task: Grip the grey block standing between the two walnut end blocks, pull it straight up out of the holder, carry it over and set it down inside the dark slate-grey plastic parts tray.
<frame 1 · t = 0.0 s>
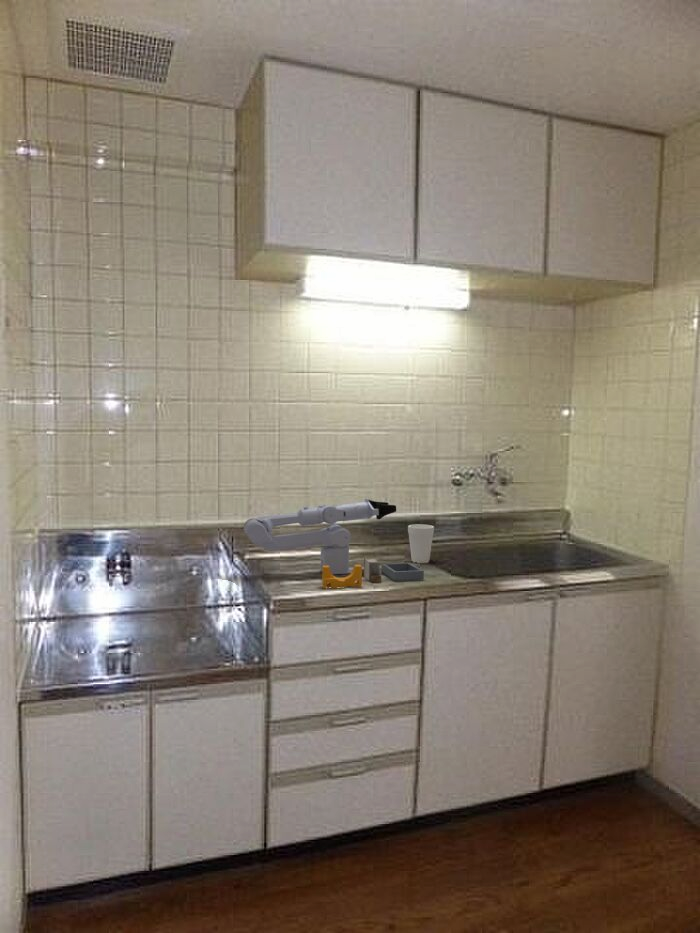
hand: (392, 507, 228), 22 cm above the table, tool horizontal, fingers open, 7 cm apart
grey block: (371, 578, 214), on the table
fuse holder: (371, 578, 214), on the table
pipe clamp: (342, 587, 204), on the table
foam cup: (420, 561, 243), on the table
parts tray: (402, 576, 218), on the table
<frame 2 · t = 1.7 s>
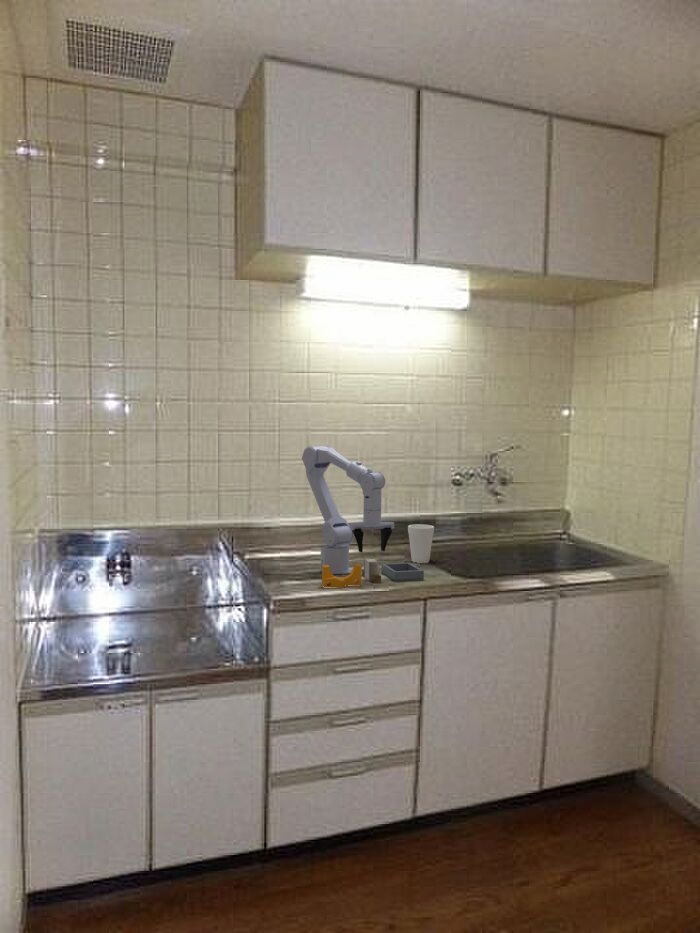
hand: (371, 551, 214), 9 cm above the table, tool pointing down, fingers open, 7 cm apart
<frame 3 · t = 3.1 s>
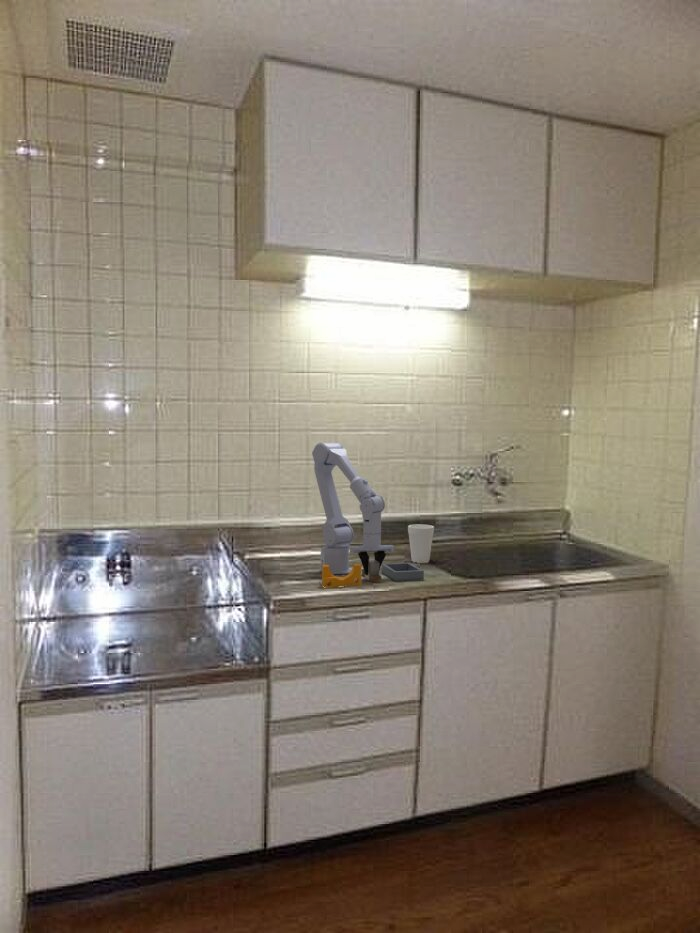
hand: (371, 574, 214), 1 cm above the table, tool pointing down, fingers closed on grey block, 3 cm apart
grey block: (371, 578, 214), on the table, touching gripper
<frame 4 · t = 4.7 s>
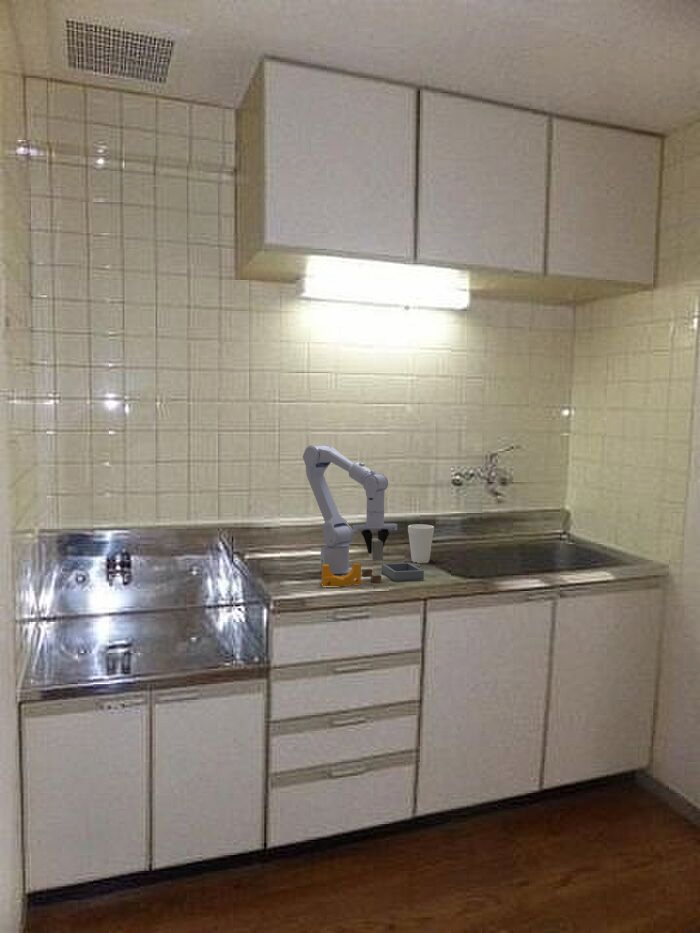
hand: (374, 552, 214), 8 cm above the table, tool pointing down, fingers closed on grey block, 3 cm apart
grey block: (375, 558, 214), point 7 cm above the table, touching gripper
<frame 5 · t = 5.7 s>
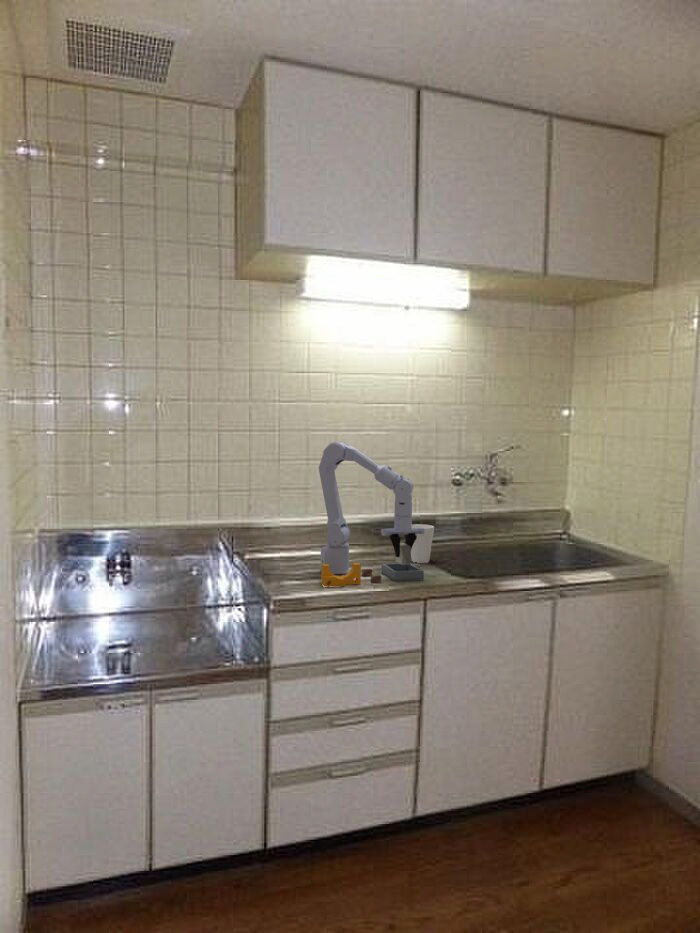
hand: (402, 556, 218), 7 cm above the table, tool pointing down, fingers closed on grey block, 3 cm apart
grey block: (402, 562, 218), point 5 cm above the table, touching gripper
when the fingers open (3 cm above the table, at t = 6.6 s): grey block stays where it is, resting on parts tray.
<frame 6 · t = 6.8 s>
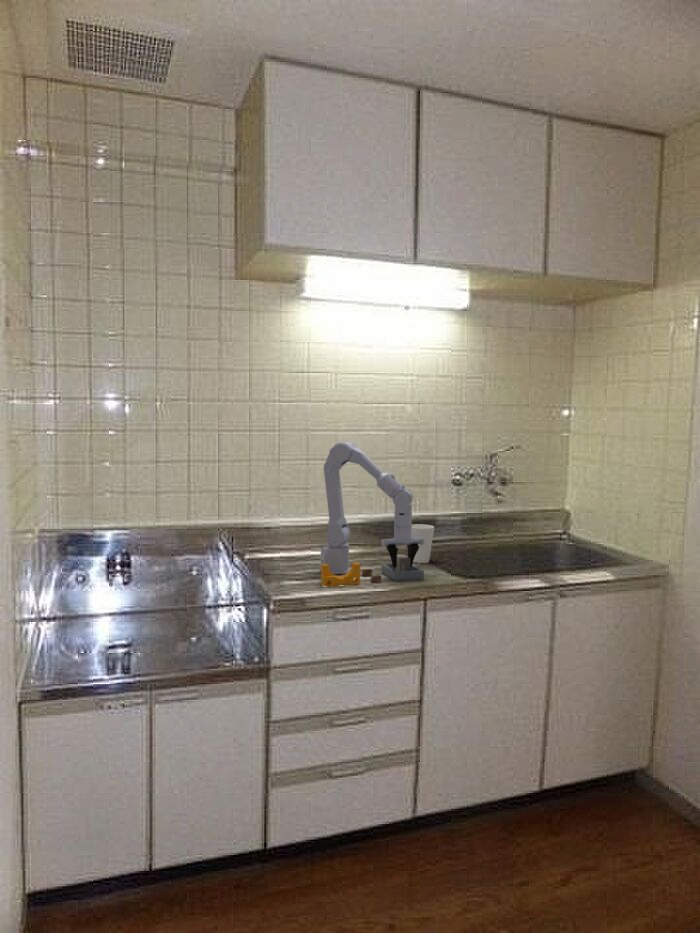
hand: (402, 566, 218), 3 cm above the table, tool pointing down, fingers open, 5 cm apart
grey block: (402, 574, 218), point 1 cm above the table, touching parts tray
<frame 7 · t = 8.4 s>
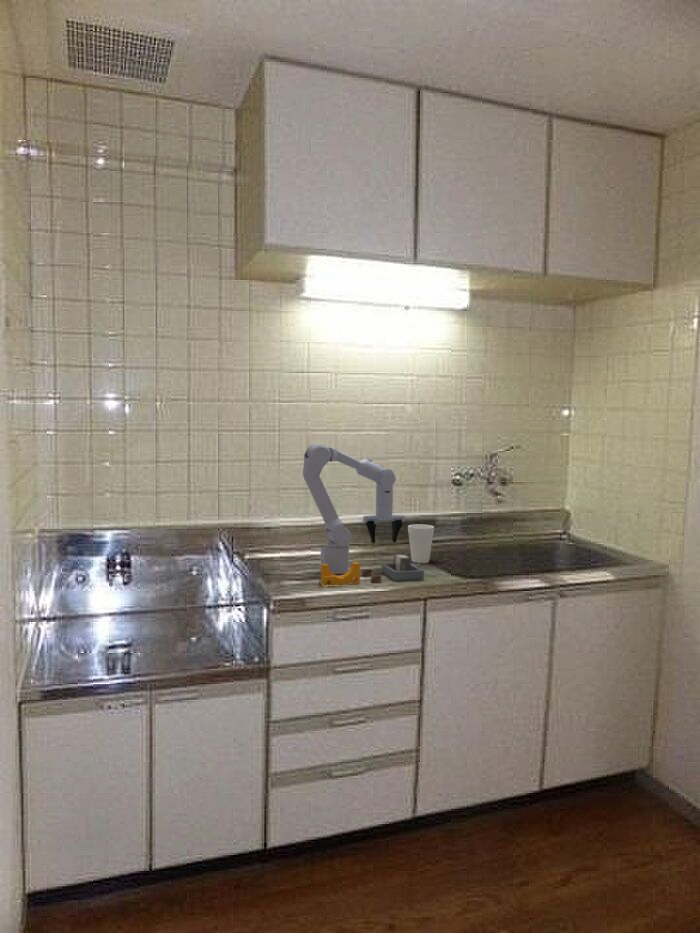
hand: (383, 542, 228), 9 cm above the table, tool pointing down, fingers open, 7 cm apart
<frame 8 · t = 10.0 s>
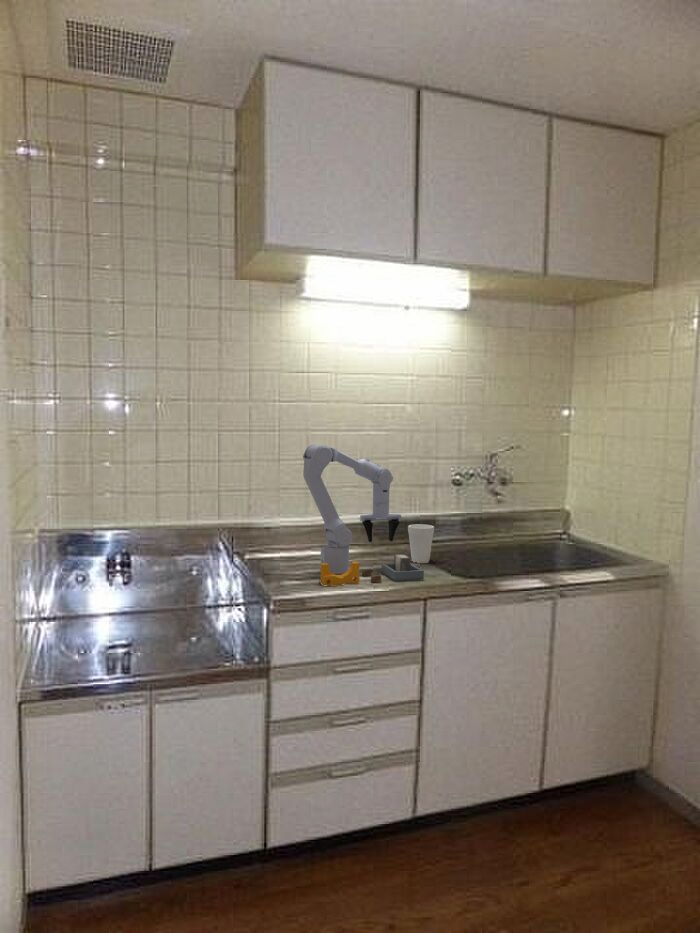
hand: (380, 541, 230), 9 cm above the table, tool pointing down, fingers open, 7 cm apart
at the end: grey block inside the target area on the parts tray (0.1 cm from its centre), point 0.6 cm above the parts tray's base; the gripper is holding nothing; grey block moved 11.1 cm from its start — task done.
